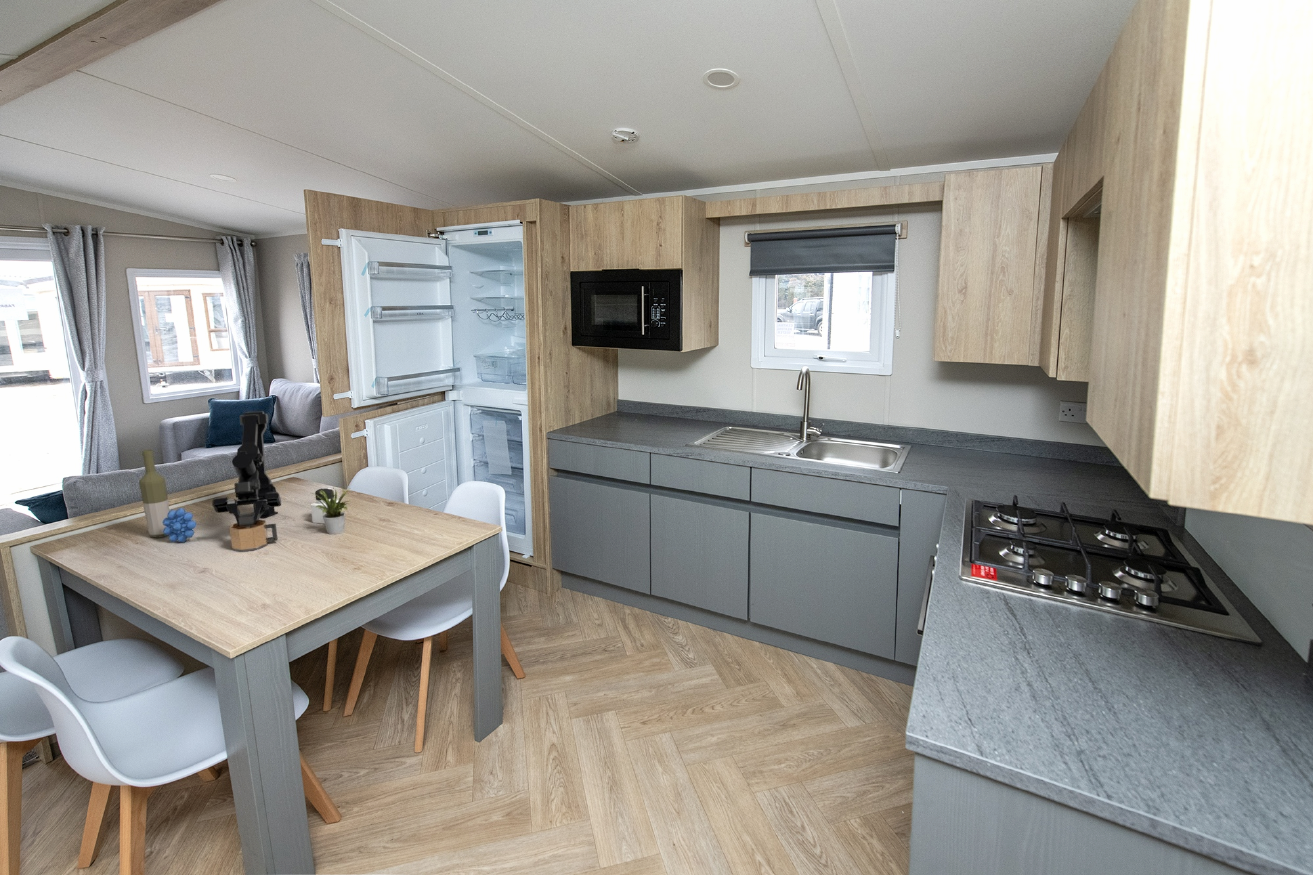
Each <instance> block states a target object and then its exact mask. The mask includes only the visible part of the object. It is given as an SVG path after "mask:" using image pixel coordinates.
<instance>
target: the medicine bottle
mask: <svg viewBox="0 0 1313 875" xmlns="http://www.w3.org/2000/svg"><path fill="white" fill-rule="evenodd" d="M321 490H322V491H321ZM332 490H333V496H332ZM323 491H324V492H325V493H326V495H327V497H328V499H329V501H330V499H332V498H333V497H334V498H335V496H334V495H335V490H334V489H333V488H331V487H322V488H319V489H317V490H315V492H314V495H315V494H316V495H315V497H317V498H315V502H314V503H311V504H310V510H311V519H312V523H313V524H323V525H325V522H324V519H323V516H324V515H325V514H327V513H326V512H324V513H323V510H324V509H323V510H321V509H318V508H320V507H316V506H318V505H322V506H323V504H324V505H325V506H326V507H327V505H326V504H325V503H324V502H323V501H322V500H321V499H320V498H318V496H319V497H322V498H324V497H323V496H322V494H321V493H320V492H322V493H323ZM323 494H324V493H323ZM317 495H318V496H317ZM324 495H325V494H324ZM324 499H325V498H324ZM318 500H320V501H321V502H322V503H323V504H322V503H321V502H319V501H318ZM338 501H339V499H337V501H336V505H337V503H338ZM340 503H342V501H341V502H340ZM327 509H329V508H328V507H327Z"/></svg>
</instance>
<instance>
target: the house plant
mask: <svg viewBox="0 0 1313 875" xmlns="http://www.w3.org/2000/svg"><path fill="white" fill-rule="evenodd" d="M334 488H335V487H332V489H333V490H334ZM350 489H351V487H350V488H348V489H346V490H345V491H344V492H343V493H342V494H341V496H339V498H338V491H339V490H337V489H335V490H334V497H333V498H332V499H330V501H329V499H328V497H327V495H326V493H325V492H324V491H323V493H324V494H325V495H324V494H323V493H322V492H320V493H321V494H322V496H323V497H324V498H325V499H324V498H322V497H319V496H318V495H317V496H318V498H320V499H321V500H322V501H323V502H324V503H325V504H326V505H327V507H328V508H329V509H327V507H326V506H325V505H324V504H323V503H322V502H321V501H320V500H318V501H319V502H321V503H322V504H323V506H322V505H318V506H316V507H320V508H318V509H321V510H323V509H324V510H323V513H324V512H326V513H327V514H325V515H324V516H323V519H324V522H325V524H324V525H325V529H326V531H327V534H328V535H339V534H342V533H344V532H345V524H346V523H345V521H346V512H344V511H343V509H345V510H346V511H348V507H347V506H346V505H347V504H350V503H349V502H350V500H349V501H348V500H347V501H342V499H343V498H344V497H345V496H346V495H347V493H348V491H349V490H350ZM333 490H332V496H333ZM321 491H322V490H321ZM311 494H312V495H316V494H315V492H311ZM316 498H317V497H316V496H315V497H314V499H316ZM337 500H339V501H338V503H337V505H336V501H337ZM340 502H341V503H340Z"/></svg>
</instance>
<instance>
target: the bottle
mask: <svg viewBox="0 0 1313 875" xmlns="http://www.w3.org/2000/svg"><path fill="white" fill-rule="evenodd" d="M141 455H142V457H143V458H142V459H143V463H144V469H145V472H144V474H143V476H142V477H141V478H140V480H139V482H138V485H139V490H140V495H141V500H142V505H143V510H144V515H145V521H146V526H147V530H148V536H150V537H151V538H163V537H167V536H168V535H165V534H164V533H163V530H164V528H165V527H167V526H164V525H163V523H162V522H163V520H164V518H167V514H168V512H169V511H170V504H169V503H170V502H169V496H168V491H167V483H166V479H165V477H164V476H162V474H159V473H158V472H157V471H156V466H155V459H154V452H153V450H152V449H145V450H141Z"/></svg>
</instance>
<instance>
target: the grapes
mask: <svg viewBox="0 0 1313 875" xmlns="http://www.w3.org/2000/svg"><path fill="white" fill-rule="evenodd" d="M193 518H194V514H193V513H191V512H190V511H186V509H184V508H183V507H180V508H177V509H176V510H175V509H173V510H172V509H171V510H169V512H168V514H167V518H164V520H163V522H162V523H163V525H164V526H167V527H165V528H164V530H163V533H164V534H165V535H167V536H169V537H168V540H169V541H170V542H176V541H177V542H179V543H182V544H183V543H185V542H186V541H187V539H190V538H193V537H194V534H195V531H194V530H195V529H196V527H197V522H196V521H195V520H192V519H193Z"/></svg>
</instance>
